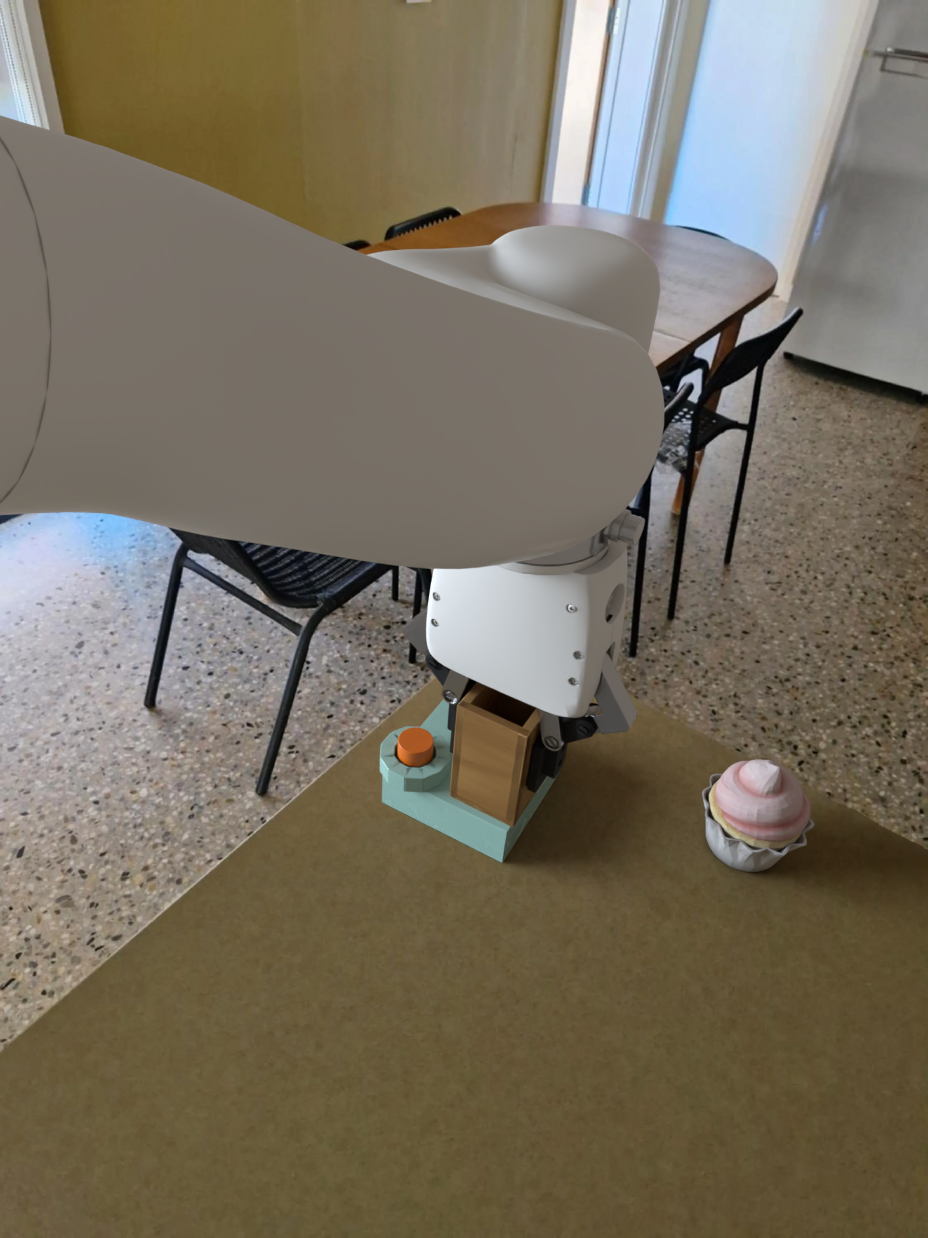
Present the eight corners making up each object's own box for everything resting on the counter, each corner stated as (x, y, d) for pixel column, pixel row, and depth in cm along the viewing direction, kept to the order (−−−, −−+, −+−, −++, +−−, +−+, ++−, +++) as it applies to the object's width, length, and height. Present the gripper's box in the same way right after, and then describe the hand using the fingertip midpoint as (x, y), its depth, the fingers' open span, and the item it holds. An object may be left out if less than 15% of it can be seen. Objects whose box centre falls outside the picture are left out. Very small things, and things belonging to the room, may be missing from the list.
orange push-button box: (497, 871, 74) (504, 826, 70) (366, 805, 78) (366, 759, 74) (560, 770, 83) (570, 725, 79) (440, 716, 87) (444, 671, 83)
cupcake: (795, 904, 73) (836, 828, 67) (682, 870, 75) (711, 793, 69) (798, 818, 80) (835, 742, 74) (694, 789, 82) (722, 713, 76)
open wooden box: (513, 828, 54) (527, 737, 49) (449, 796, 55) (456, 705, 50) (548, 774, 57) (565, 684, 52) (487, 746, 59) (498, 656, 54)
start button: (421, 772, 74) (421, 758, 73) (390, 758, 75) (391, 743, 74) (439, 750, 76) (440, 736, 75) (409, 736, 77) (410, 722, 76)
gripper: (729, 526, 43) (653, 776, 54) (429, 426, 49) (419, 671, 60) (677, 608, 37) (606, 864, 49) (349, 484, 43) (354, 739, 55)
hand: (503, 755), depth 54 cm, fingers closed on open wooden box, 4 cm apart
